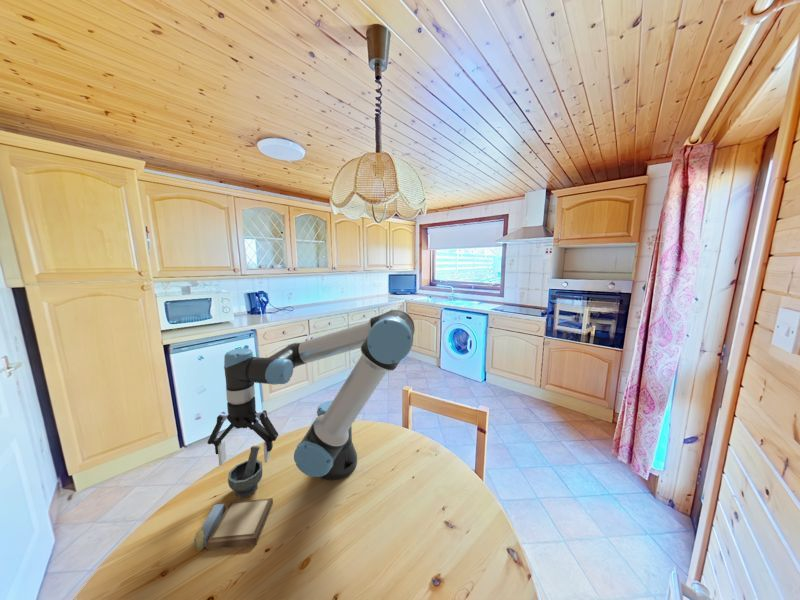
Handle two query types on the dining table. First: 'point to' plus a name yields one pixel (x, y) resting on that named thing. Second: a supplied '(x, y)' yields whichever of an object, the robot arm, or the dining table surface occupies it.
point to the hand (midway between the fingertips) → (245, 461)
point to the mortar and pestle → (246, 475)
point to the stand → (240, 524)
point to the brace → (209, 526)
